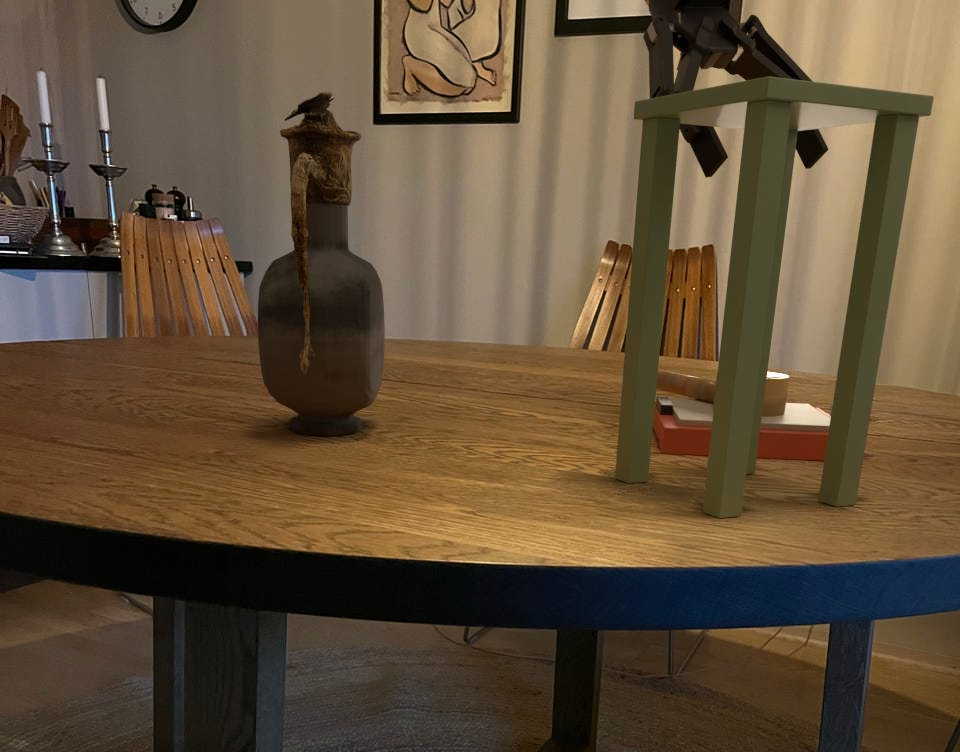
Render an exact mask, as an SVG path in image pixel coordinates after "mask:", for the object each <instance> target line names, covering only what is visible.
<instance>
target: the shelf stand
mask: <svg viewBox="0 0 960 752" xmlns="http://www.w3.org/2000/svg"><path fill="white" fill-rule="evenodd" d="M812 81H813V80H812ZM812 81H803V80H795V79H787V78H778V77H770V76H768V77H763V78H758V79H752V80H747V81H746V80H742V81H737V82H732V83H731V82H730V83H726V84H721V85H720V84H719V85H715V86H710V87H705V88H700V89H693V91H688V92H683V93H677V94H672V95H667V96H661V97H656V98H651V99H650V98H646V99H639V100H635V101H634V107H633V120H637V121H642V126H641V138H640V139H641V140H640V151H639V152H640V154H639V163H638V165H639V166H638V179H637V192H636V203H635V217H634V229H633V241H632V254H631V266H630V267H631V269H630V281H629V283H630V284H629V292H628V293H629V295H628V306H627V308H628V309H627V319H626V330H625V331H626V332H625V345H624V359H623V372H622V382H621V383H622V384H621V394H620V395H621V397H620V410H619V423H618V436H617V448H616V459H615V460H616V462H615V473H614V478H615V479H616V480H619V481H621V482H622V483H623V482H624V483H626V484H636V483H637V484H639V483H648V482H649V476H650V475H649V474H650V464H651V454H652V453H651V452H652V442H653V430H654V428H653V420H654V409H655V401H656V398H657V389H656V386H657V375H658V370H659V364H660V363H659V362H660V353H661V352H660V351H661V341H662V340H661V339H662V331H663V330H662V329H663V319H664V309H665V308H664V307H665V297H666V284H667V273H668V263H669V262H668V261H669V252H670V251H669V250H670V239H671V229H672V217H673V205H674V195H675V194H674V193H675V184H676V172H677V161H678V149H679V140H680V139H679V138H680V124H690V125H701V126H712V127H714V128H725V129H735V130H743V136H742V137H743V138H742V147H741V155H740V164H739V174H738V184H737V192H736V199H735V200H736V201H735V208H734V218H733V220H734V221H733V226H732V227H733V228H732V238H731V247H730V256H729V264H728V274H727V282H726V284H727V285H726V290H725V291H726V292H725V303H724V311H723V318H722V319H723V320H722V328H721V338H720V347H719V355H718V356H719V357H718V366H717V372H718V373H717V372H716V378H717V382H716V392H715V401H714V410H713V419H712V428H711V437H710V446H709V455H707V465H706V475H705V484H704V485H705V486H704V492H703V493H704V494H703V503H702V510H701V511H702V513H704V514H707V515H710V516H711V517H715V518H717V519H725V518H735V517H742V509H743V503H744V493H745V486H746V478H747V475H754V474H756V473H755V472H756V465H757V450H758V442H759V434H760V427H761V419H762V411H763V403H764V395H765V387H766V379H767V372H769V371H768V369H769V364H770V363H769V362H770V356H771V349H772V348H771V346H772V339H773V331H774V324H775V317H776V316H775V315H776V307H777V299H778V292H779V283H780V276H781V275H780V274H781V267H782V261H783V254H784V253H783V252H784V246H785V245H784V243H785V237H786V236H785V235H786V230H787V229H786V227H787V219H788V213H789V206H790V205H789V204H790V197H791V190H792V189H791V188H792V180H793V173H794V172H793V171H794V165H795V157H796V151H797V150H796V142H797V134H798V131H803V130H811V129H819V130H820V129H828V128H837V127H846V126H853V125H861V124H862V125H863V124H869V123H870V124H871V123H874V129H873V135H872V140H871V148H870V154H869V160H868V168H867V175H866V181H865V188H864V194H863V200H862V206H861V207H862V208H861V212H860V213H861V214H860V222H859V226H858V234H857V239H856V241H857V242H856V248H855V254H854V260H853V261H854V262H853V268H852V274H851V275H852V276H851V280H850V286H849V287H850V288H849V295H848V301H847V306H846V314H845V320H844V327H843V333H842V341H841V347H840V352H839V353H840V354H839V361H838V368H837V374H836V380H835V387H834V392H833V393H834V394H833V400H832V403H833V406H832V413H831V412H830V414H831V420H830V426H829V433H828V440H827V446H826V453H825V459H824V461H823V468H822V473H821V480H820V486H819V493H818V500H817V501H818V502H819V503H824V504H827V505H830V506H833V507H836V508H837V507H848V506H856V505H857V500H858V493H859V487H860V481H861V475H862V469H863V463H864V457H865V450H866V444H867V439H868V432H869V427H870V421H871V414H872V408H873V403H874V396H875V389H876V384H877V377H878V371H879V365H880V358H881V352H882V346H883V340H884V334H885V328H886V322H887V317H888V316H887V315H888V310H889V305H890V304H889V303H890V297H891V291H892V286H893V285H892V284H893V279H894V273H895V267H896V262H897V254H898V250H899V249H898V248H899V243H900V237H901V232H902V224H903V219H904V212H905V206H906V200H907V194H908V188H909V182H910V177H911V176H910V175H911V170H912V163H913V157H914V151H915V144H916V139H917V134H918V127H919V120H920V118H923V117H930V116H931V115H932V110H933V105H934V104H933V103H934V95H929V94H920V93H912V92H911V93H910V92H903V91H896V90H895V91H894V90H886V89H879V88H878V89H877V88H869V87H861V86H853V85H844V84H838V83H837V84H836V83H835V84H834V83H827V82H819V81H813V82H812Z"/></svg>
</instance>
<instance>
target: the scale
mask: <svg viewBox="0 0 960 752" xmlns="http://www.w3.org/2000/svg"><path fill="white" fill-rule="evenodd" d="M713 406H714V403H711V402H707V401H703V400H699V399H694V398H682V397H681V398H678V397H668V396H656V398H655V409H654V420H653V430H654V433H655V435H656V437H657V438H656V439H655V440H656V442H657V444H658V446H659V449H660V451H661V453H662V454H668V455H687V456H688V455H691V456H708V455H709V446H710V437H711V428H712V419H713V410H714V409H713ZM830 420H831V416H830V415H829V414H828V413H827V412H826V411H824V410H822V409H821V408H819V407H813V406H812V405H811V404H810V403H802V402H800V403H798V402H786V407H785V414H783V415H780V416H767V417H762V419H761V427H760V434H759V442H758V450H757V458H758V459H777V460H779V459H780V460H799V461H800V460H801V461H820V462H821V461H823V462H824V459H825V453H826V446H827V440H828V433H829V426H830ZM757 458H756V459H757Z"/></svg>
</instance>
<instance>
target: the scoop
mask: <svg viewBox="0 0 960 752" xmlns="http://www.w3.org/2000/svg"><path fill="white" fill-rule="evenodd" d="M717 373H718V371H717V372H716V374H717ZM716 382H717V377H716V378H715V380H711V379H708V378H707V379H706V378H702V377H697V376H693V375H689V374H683V373H678V372H673V371H670V370H669V371H668V370H664V369H658V375H657V386H656V391H661V392H666V393H670V394H673V395H679V396H683V397H687V398H689V399H699V400H703V401H707V402H711V403H714V401H715V392H716ZM789 384H790V376H789V375H788V374H784V373H780V372H773V371H767V379H766V387H765V395H764V403H763V411H762V417H767V416H780V415H783V414H785V407H786V403H787V398H788V393H789V392H788V390H789ZM713 409H714V406H713Z"/></svg>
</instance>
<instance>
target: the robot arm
mask: <svg viewBox="0 0 960 752" xmlns="http://www.w3.org/2000/svg"><path fill="white" fill-rule="evenodd" d="M644 2H645V5H646V6H647V7H648V11H649V14H650V16H651V18H652V21H651V23H650V24H649V26H648V27H647V29H646V30H645V32H644V33H643V35H642V38H643V40H644V43H645V45H646V49H647V51H648V84H649V85H648V86H649V87H648V89H649V91H648V92H649V99H651V98H656V97H661V96H667V95H672V94H677V93H683V92H688V91H693V90H695V87H696V86H695V85H696V82H697V78H698V74H699V70H708V69H712V68H713V69H717V70H723V71H725V72H726V73H728V74H729V75H731V76H735V75H738V76H739V77H740V78H742V79H743V80H744V81H747V80H752V79H758V78H763V77H768V76H770V77H778V78H787V79H795V80H803V81H812V82H814V81H813V80H812V78H811V77H810V76H808V74H807V73H806V72H805V71H804V70H803V69H802V68H801V67H800V66H799V65H798V64H797V63H796V62H795V61H794V59H793V58H792V57H791V56H790V55H789V54H788V53H787V52H786V51H785V50H784V49H783V48H782V46H780V45H779V43H777V41H775V39H774V38H773V37H772V36H771V35H770V34H769V33H768V31H767V30H766V28H765V26H764V24H763V23H762V21H761V20H760V18H759V17H758V16H757V15H756V14H750V15H749V16H748V18H747V19H746V21H744V22H738V20H737V19H736V18H735V17H734V16H733V15H732V13H731V12H730V0H644ZM674 48H675V49H676V50H678V51H679V52H680V53H679V60H678V63H677V67H676V75H675V67H674V65H675V64H674ZM739 50H742V52H741V53H740V54H739V55H738V57H737V58H736V59H735V60H733V59H734V58H735V57H736V55H737V54H738V51H739ZM679 132H680V133H681V135H682V137H683V139H684V141H685V142H686V143H687V144H689V145H690V148H691V149H692V151H693V154H694V156H695V159H696V160H697V162H698V164H699V166H700V168H701V171H702V172H703V175H704V177H705V178H712V177H713V176H714V175H715V174H716V173H717V171H719V169H720V168H721V166H723V164H724V163H725V162H726V161H727V159H728V158H729V156H728V153H727V151H726V149H725V147H724V145H723V143H722V141H721V139H720V137H719V135H718V133H717V131H716V128H715V127H712V126H701V125H690V124H680V129H679ZM795 151H796V152H797V155H798V157H799V158H800V161H801V162H802V165H803V166H804V168H805V169H806V170H807V169H808V170H809V169H812V168H813V167H814V166H815V165H816V164H817V162H819V161H820V159H821V158H822V157H823V156H825V154H826V153H827V152H828V151H829V147H828V145H827V143H826V141H825V139H824V137H823V135H822V133H821V131H820V129H811V130H803V131H798V134H797V142H796V150H795ZM805 169H804V170H805Z"/></svg>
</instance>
